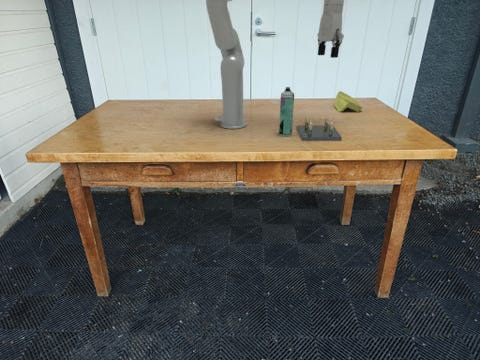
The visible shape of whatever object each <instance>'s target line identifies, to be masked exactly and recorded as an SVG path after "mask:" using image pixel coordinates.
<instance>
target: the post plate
mask: <svg viewBox="0 0 480 360" xmlns="http://www.w3.org/2000/svg"><path fill="white" fill-rule="evenodd" d="M329 117H330V116H329V115H326V116H325V118H324V125H323V124H322V125H321V124H317V125H316V124H313V122H312V121H310V117H309V116H308V115H307V116H305V122H304V123H305V124H304V125H302V124H301V125H296V131H297V132H298V134H299V137H300V138H301V139H300V140H301V141H303V142H306V141H307V142H308V141H309V142H310V141H313V142H314V141H316V142H317V141H318V142H319V141H320V142H321V141H324V142H325V141H326V142H327V141H329V142H330V141H335V142H336V141H342V138H343V137H342V135H341V134H340V133H339V132H338V130H337V129H336V128H335V127H334V124H335V123H334V121H330V122H329ZM309 121H310V122H309Z"/></svg>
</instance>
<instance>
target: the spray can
mask: <svg viewBox="0 0 480 360" xmlns="http://www.w3.org/2000/svg"><path fill="white" fill-rule="evenodd" d="M294 103H295V92H293V91H292V90H291V86H287V87H285V89H284V91H283V92H281V93H280V105H279V109H280V110H279V128H278V135H279V136H281V137H292V135H293V119H294V109H295V108H294V106H295V104H294Z"/></svg>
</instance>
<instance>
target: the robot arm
mask: <svg viewBox="0 0 480 360" xmlns="http://www.w3.org/2000/svg"><path fill="white" fill-rule="evenodd" d="M232 1H233V0H206V1H205V3H206V4H205V5H206V10H207V15H208V18H209V24H210V28H211V31H212V35H213V39H214V44H215V45H216V47H217V48H218V49H219V51H220V53H221V58H222V60H221V61H220V76H221V77H220V78H221V94H222V95H221V96H222V115H220V116H213V121H215V122H218V123H219V122H220V123H219V126H220V127H221V128H225V129H227V130H228V129H231V130H236V129H237V130H238V129H243V128H245V127H246V126H247V124H248V122H247V121H246V120H244V72H243V71H244V67H245V59H244V53H243V49H242V46H241V45H242V44H241V42H240V37H239V35H238V34H239V33H238V32H237V31H236V29H235V28H234V27H233V24H232V20H231V16H230V11H229V8H228V2H232ZM344 3H345V0H323V7H322V8H323V10H322V15H321V19H320V22H319V27H318V33H317V42H318V43H317V45H318V47H317V48H318V50H317V56H325V54H326V46H327V45H326V44H327V43H328V42H331V45H332V47H331V49H330V58H332V59H333V58H339V52H340V47H341V45H342V43H343V40H344V37H345V35H344V34H343V33H342V30H343V12H344Z"/></svg>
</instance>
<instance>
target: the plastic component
mask: <svg viewBox="0 0 480 360" xmlns="http://www.w3.org/2000/svg"><path fill="white" fill-rule="evenodd" d="M334 108H335V109H336V110H337V111H338V112H339V113H342V112H344V111H345V110H346V109H347V108H348V109H350V110H352V111H355V112H356V113H360V111H361V110H362V108H363V106H362V105H361V104H360V103H359V102H358V101H357V100H356V99H355V98H353V97H352V96H351V95H349V94H347V93H345V92H343V91H342V90H339V91H338V92H337V95H336V97H335V99H334Z"/></svg>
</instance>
